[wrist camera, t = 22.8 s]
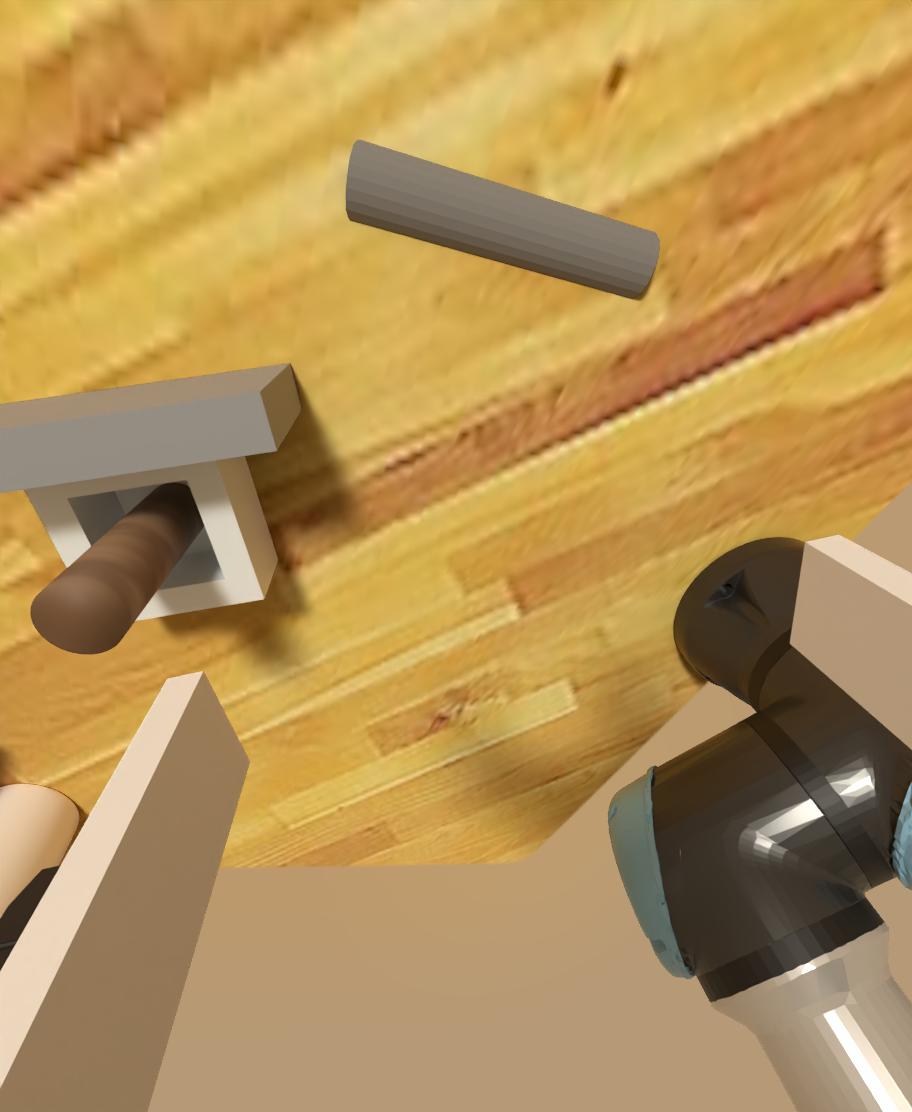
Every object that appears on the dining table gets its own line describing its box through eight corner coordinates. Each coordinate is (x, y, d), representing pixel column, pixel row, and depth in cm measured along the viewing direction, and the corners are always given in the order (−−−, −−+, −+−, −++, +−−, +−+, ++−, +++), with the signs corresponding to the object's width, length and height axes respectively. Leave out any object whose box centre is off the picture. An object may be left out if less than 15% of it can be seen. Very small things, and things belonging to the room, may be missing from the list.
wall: (301, 409, 36) (277, 451, 27) (-2, 453, 35) (-131, 512, 26) (290, 363, 34) (259, 391, 26) (-27, 408, 33) (-173, 454, 24)
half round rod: (631, 302, 36) (643, 303, 34) (344, 221, 32) (342, 218, 30) (656, 231, 34) (669, 229, 32) (354, 136, 30) (352, 128, 28)
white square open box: (278, 558, 41) (264, 599, 36) (135, 581, 40) (99, 626, 35) (234, 418, 36) (209, 442, 30) (69, 442, 35) (14, 471, 30)
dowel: (216, 530, 38) (138, 646, 26) (160, 538, 38) (55, 660, 26) (197, 478, 36) (104, 577, 24) (138, 487, 36) (14, 591, 24)
